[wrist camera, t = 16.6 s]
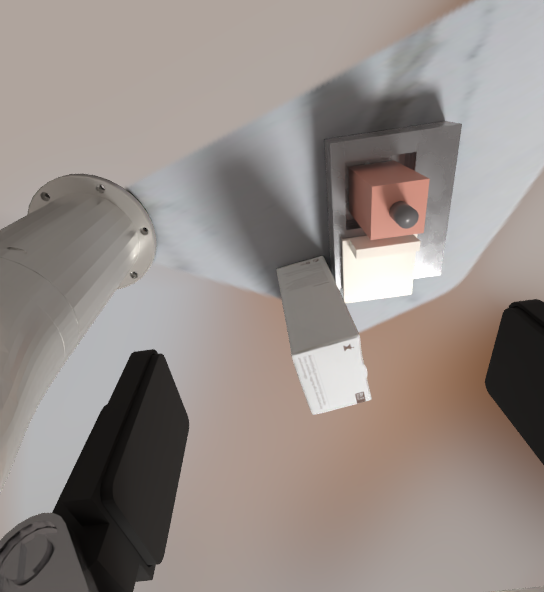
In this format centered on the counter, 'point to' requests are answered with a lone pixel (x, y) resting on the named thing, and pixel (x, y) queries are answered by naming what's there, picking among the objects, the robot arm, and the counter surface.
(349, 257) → the cream stepped block
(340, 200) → the socket
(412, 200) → the plug
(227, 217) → the counter surface
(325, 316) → the skincare box
